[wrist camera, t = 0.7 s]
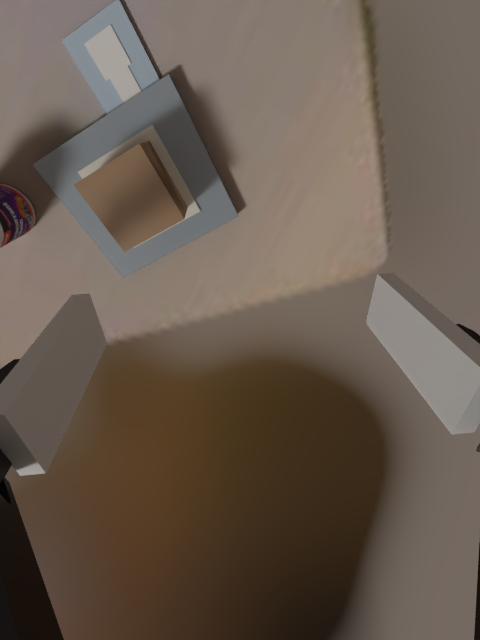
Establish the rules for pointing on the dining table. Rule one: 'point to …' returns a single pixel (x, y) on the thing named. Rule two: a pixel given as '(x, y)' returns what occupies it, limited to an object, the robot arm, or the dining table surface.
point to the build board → (174, 152)
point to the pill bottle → (14, 214)
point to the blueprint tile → (111, 57)
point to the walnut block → (133, 196)
